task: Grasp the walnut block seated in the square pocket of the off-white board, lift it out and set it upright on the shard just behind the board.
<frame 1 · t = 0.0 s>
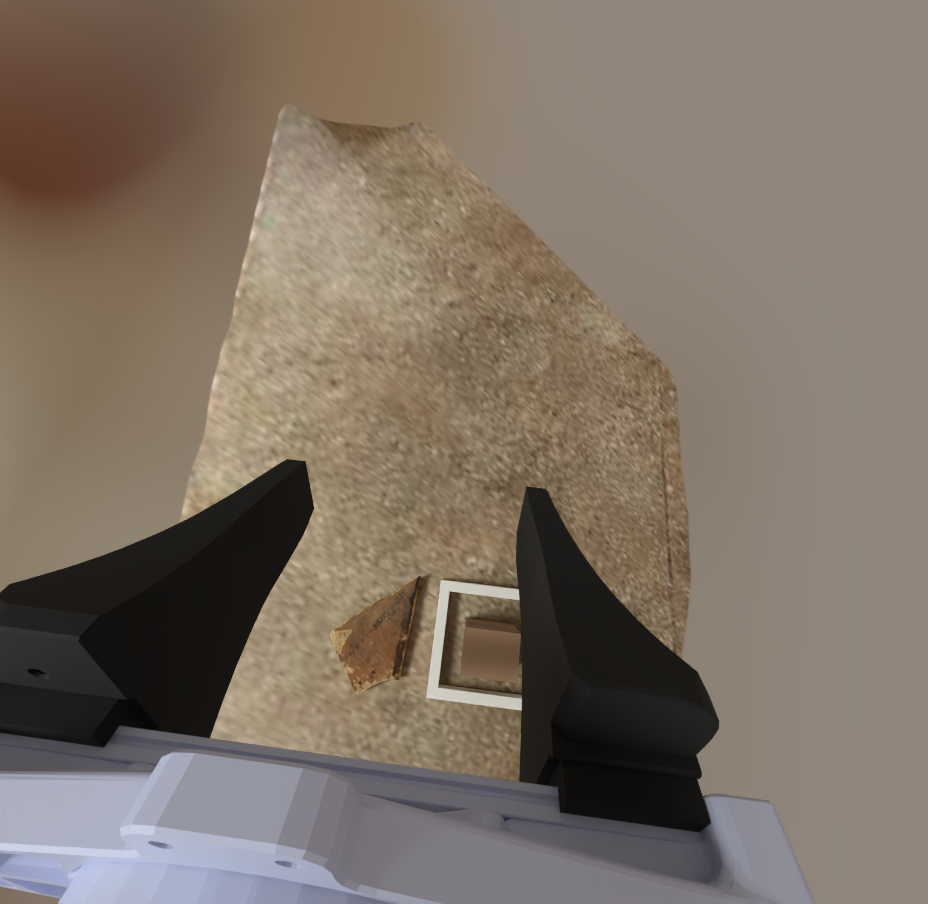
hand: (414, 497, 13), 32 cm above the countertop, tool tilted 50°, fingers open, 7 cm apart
pocket board: (487, 641, 42), on the countertop
walnut block: (489, 647, 39), in the pocket board
shard: (374, 625, 43), on the countertop
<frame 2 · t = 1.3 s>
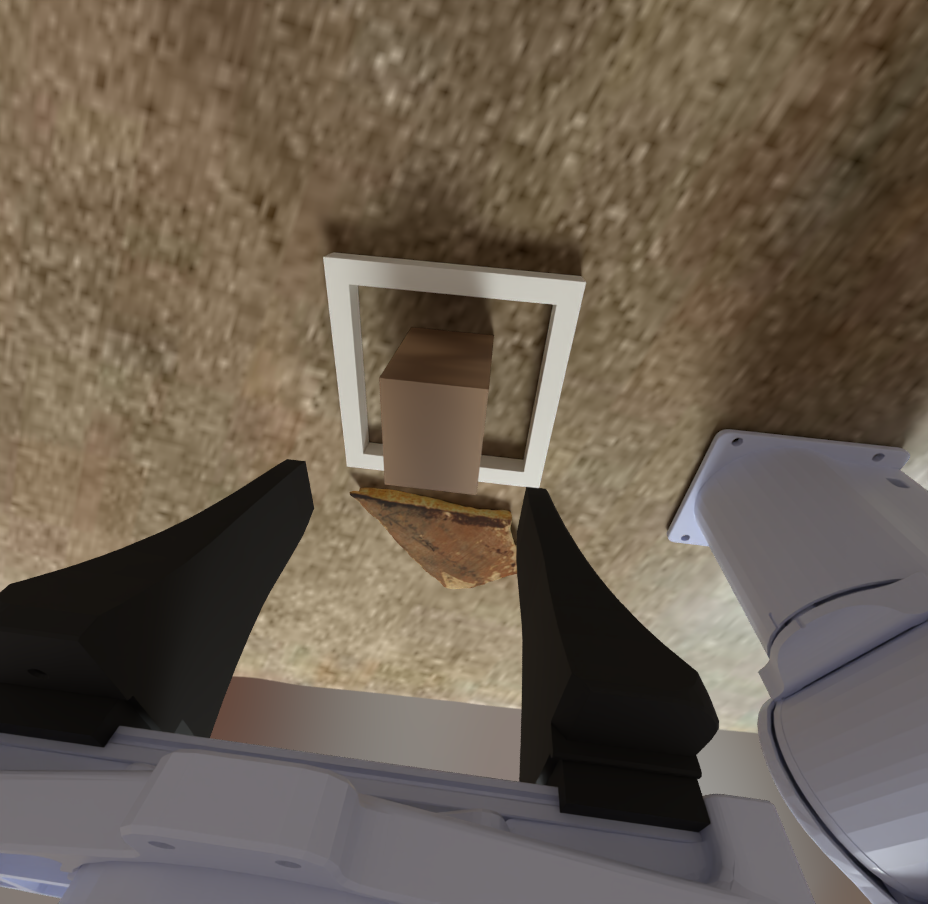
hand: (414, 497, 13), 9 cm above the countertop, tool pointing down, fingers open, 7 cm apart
pocket board: (449, 379, 21), on the countertop
walnut block: (442, 405, 19), in the pocket board
shard: (442, 533, 29), on the countertop
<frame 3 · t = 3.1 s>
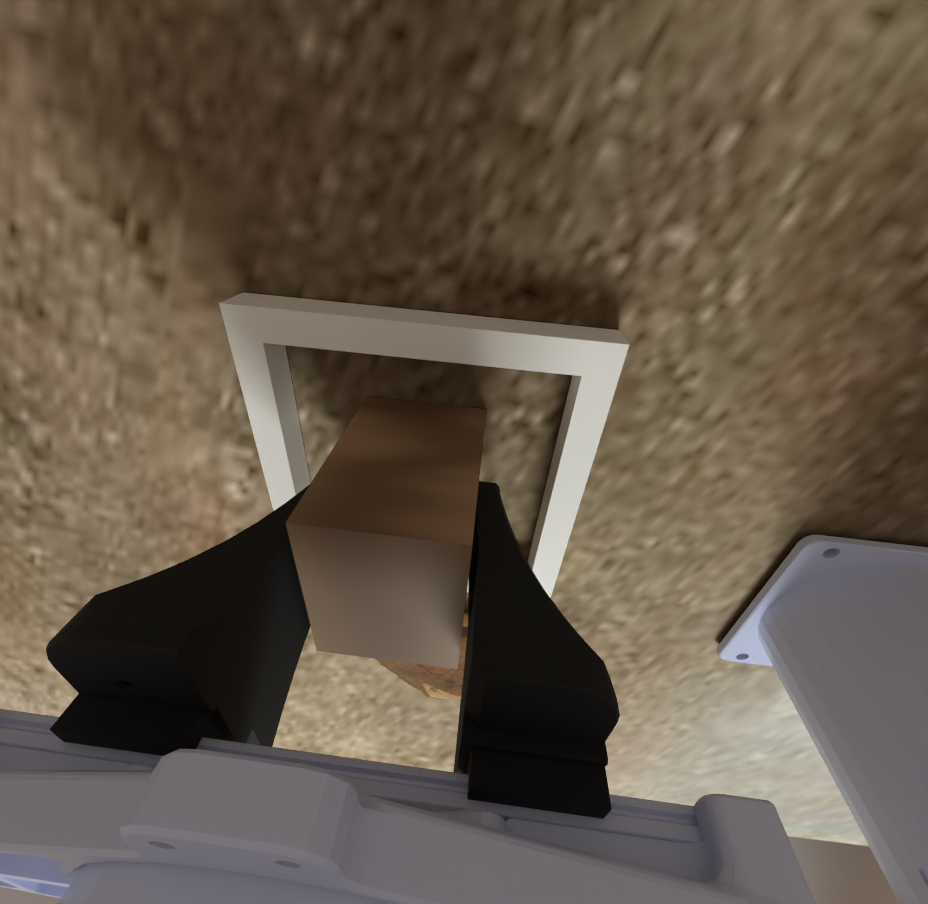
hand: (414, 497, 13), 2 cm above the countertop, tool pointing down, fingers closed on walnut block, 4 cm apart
pocket board: (424, 463, 15), on the countertop
walnut block: (408, 520, 12), in the pocket board, touching gripper
shard: (423, 631, 22), on the countertop
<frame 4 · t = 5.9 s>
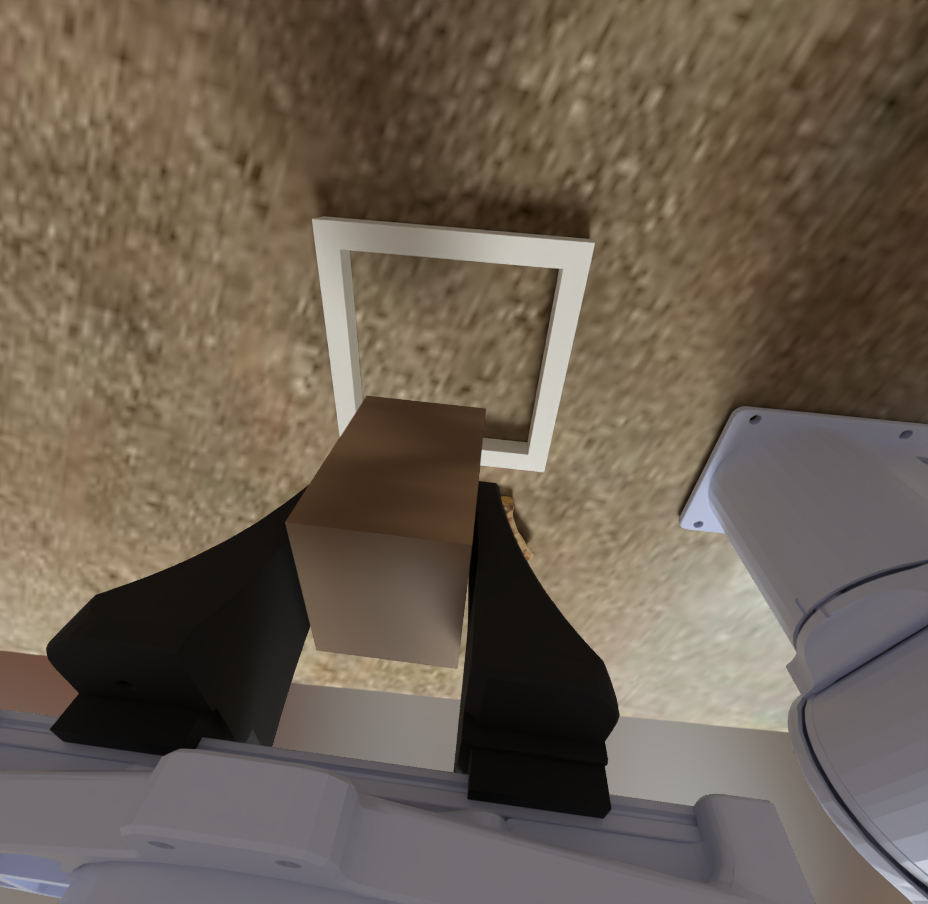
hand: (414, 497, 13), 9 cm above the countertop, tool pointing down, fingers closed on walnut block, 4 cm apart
pocket board: (449, 355, 20), on the countertop
walnut block: (407, 520, 12), point 10 cm above the countertop, touching gripper
shard: (442, 524, 27), on the countertop
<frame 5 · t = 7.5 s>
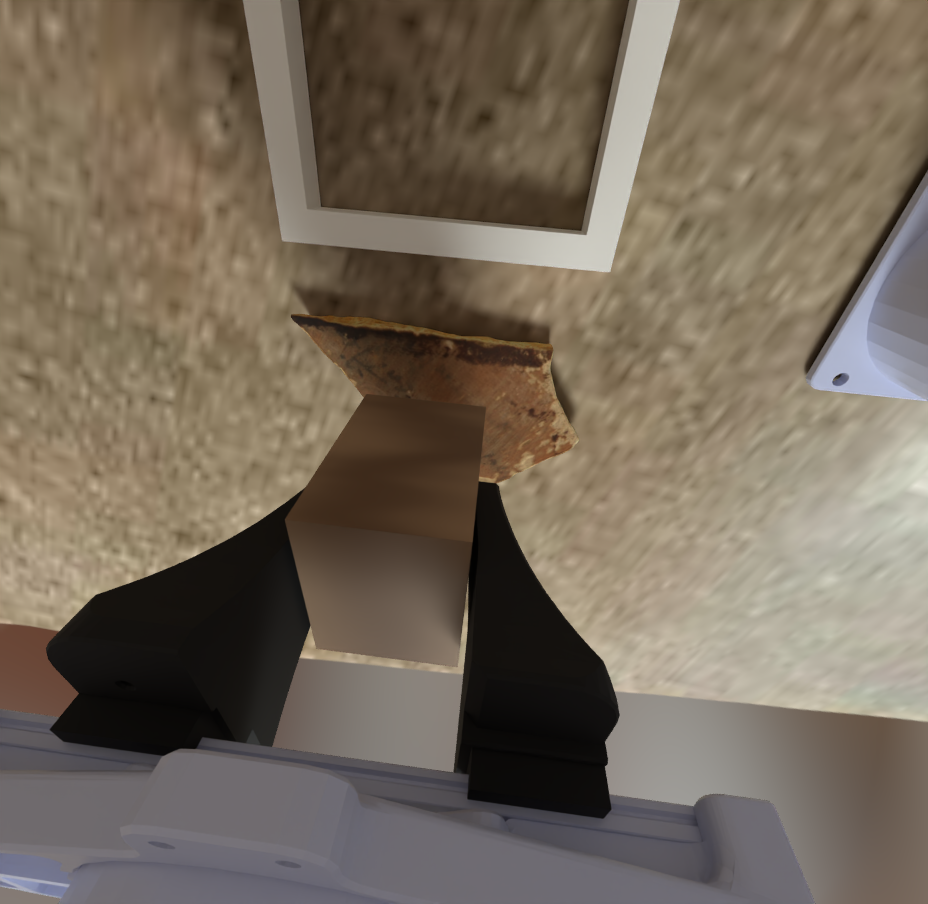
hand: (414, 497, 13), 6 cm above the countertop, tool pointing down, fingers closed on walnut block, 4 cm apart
pocket board: (457, 34, 11), on the countertop
walnut block: (407, 518, 12), point 7 cm above the countertop, touching gripper
shard: (443, 405, 19), on the countertop
when the fingers open (5 cm above the countertop, at t = 8.6 s): walnut block drops 2 cm, resting on shard.
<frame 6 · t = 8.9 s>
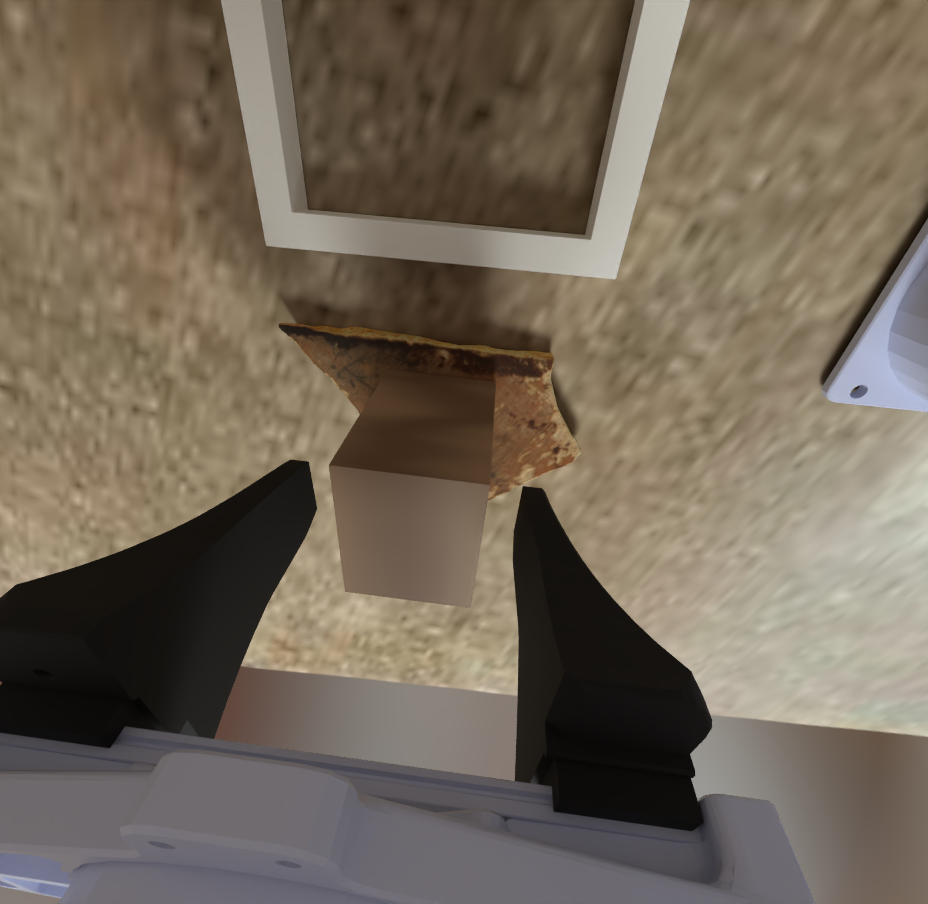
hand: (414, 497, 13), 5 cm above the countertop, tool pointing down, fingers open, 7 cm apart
pocket board: (452, 24, 11), on the countertop
walnut block: (425, 479, 14), point 4 cm above the countertop, touching shard
shard: (439, 415, 18), on the countertop, touching walnut block
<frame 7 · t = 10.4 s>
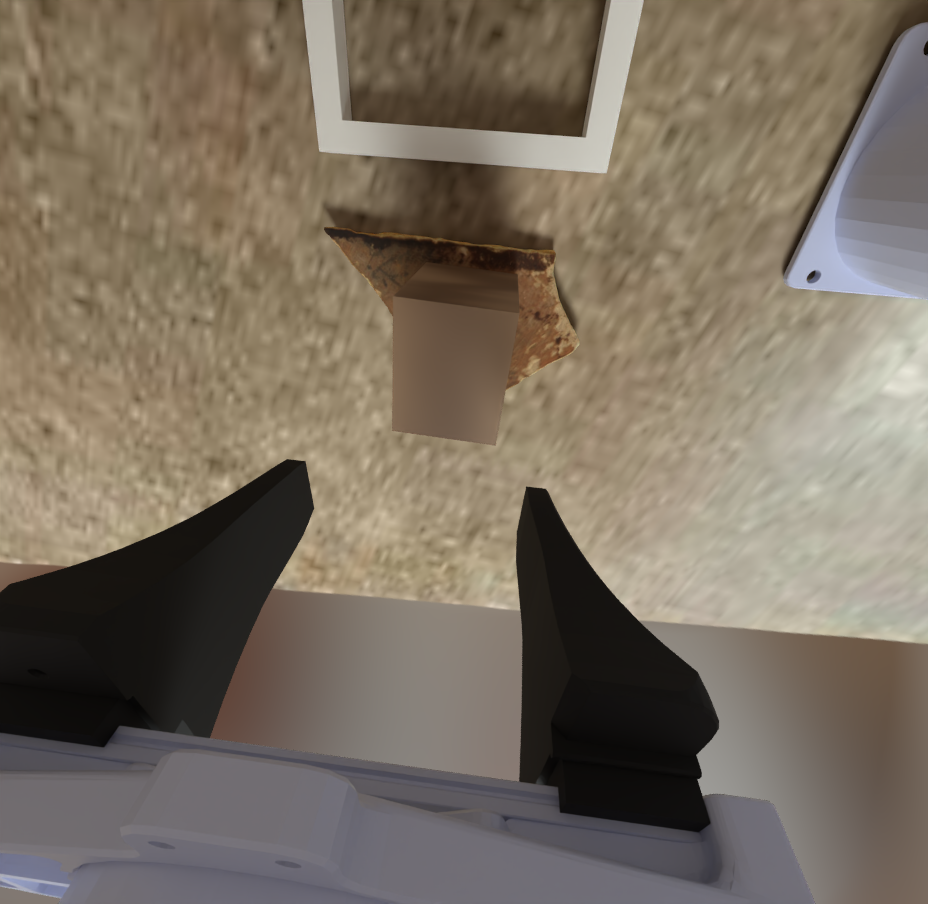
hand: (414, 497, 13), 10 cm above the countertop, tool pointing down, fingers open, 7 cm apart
walnut block: (458, 347, 17), point 4 cm above the countertop, touching shard
shard: (457, 321, 21), on the countertop, touching walnut block
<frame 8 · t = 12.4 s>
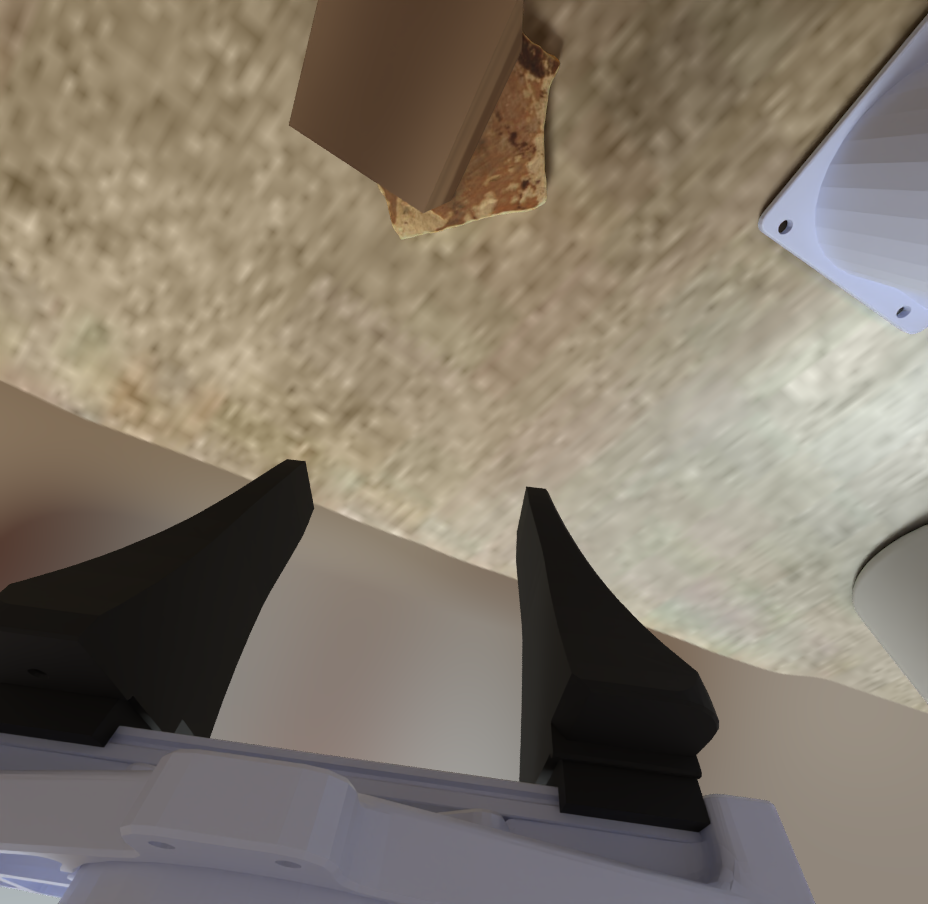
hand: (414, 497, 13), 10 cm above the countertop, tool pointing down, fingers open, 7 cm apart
walnut block: (419, 83, 12), point 4 cm above the countertop, touching shard
shard: (417, 120, 17), on the countertop, touching walnut block
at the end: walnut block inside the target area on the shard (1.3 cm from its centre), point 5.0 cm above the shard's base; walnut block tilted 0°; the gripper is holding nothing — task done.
